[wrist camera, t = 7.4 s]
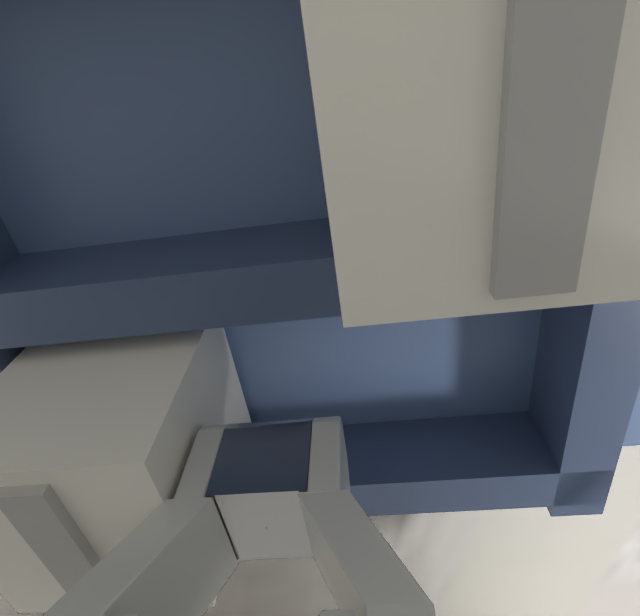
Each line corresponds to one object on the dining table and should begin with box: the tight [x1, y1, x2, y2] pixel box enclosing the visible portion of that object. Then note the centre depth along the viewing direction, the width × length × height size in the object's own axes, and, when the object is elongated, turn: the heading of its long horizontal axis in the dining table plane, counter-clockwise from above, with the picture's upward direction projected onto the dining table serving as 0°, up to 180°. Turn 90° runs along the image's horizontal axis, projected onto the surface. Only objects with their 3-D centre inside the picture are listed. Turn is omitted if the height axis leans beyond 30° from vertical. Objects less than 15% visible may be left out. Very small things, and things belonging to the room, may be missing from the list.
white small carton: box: [300, 0, 640, 328], centre depth 6 cm, size 4×4×5 cm
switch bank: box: [0, 0, 640, 516], centre depth 8 cm, size 18×20×3 cm
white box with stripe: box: [0, 328, 252, 614], centre depth 10 cm, size 4×4×5 cm
